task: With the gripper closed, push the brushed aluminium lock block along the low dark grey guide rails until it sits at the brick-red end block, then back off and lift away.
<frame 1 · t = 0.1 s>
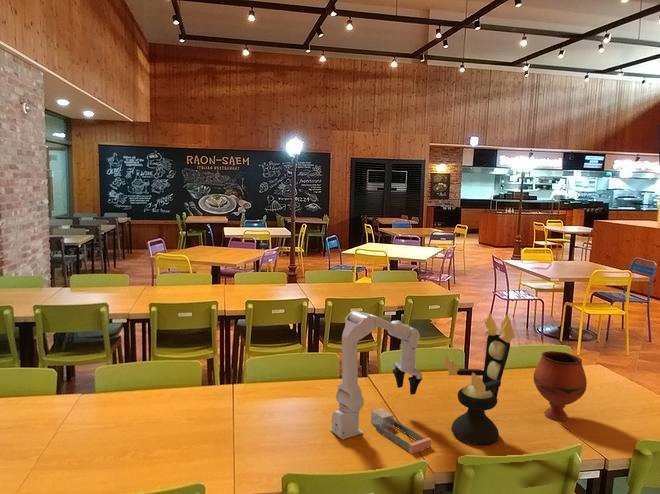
hand: (406, 390, 201), 10 cm above the table, tool pointing down, fingers open, 7 cm apart
goblet: (556, 416, 205), on the table
spiked throne chair: (478, 434, 189), on the table
guide rails: (401, 437, 184), on the table
lock block: (381, 425, 193), on the table
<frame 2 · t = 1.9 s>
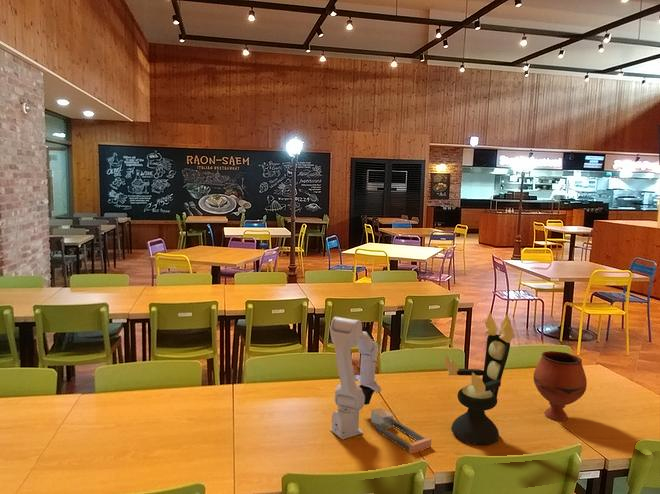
hand: (366, 403, 201), 4 cm above the table, tool pointing down, fingers closed
nothing on the table moved.
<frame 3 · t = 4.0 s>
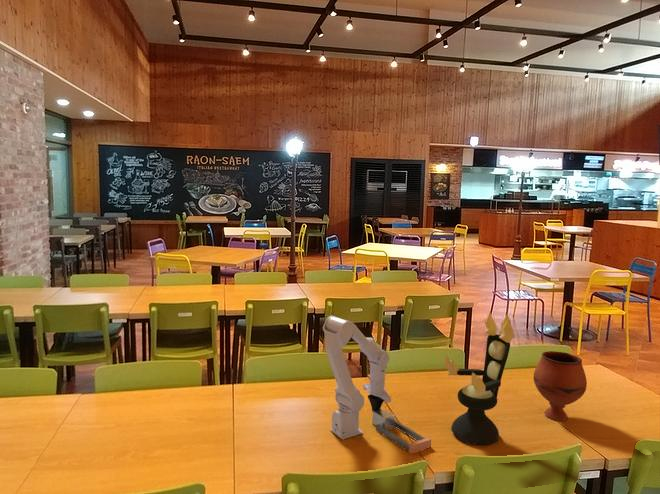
hand: (375, 413, 196), 3 cm above the table, tool pointing down, fingers closed
lock block: (383, 425, 192), on the table, touching gripper
everything else where it was.
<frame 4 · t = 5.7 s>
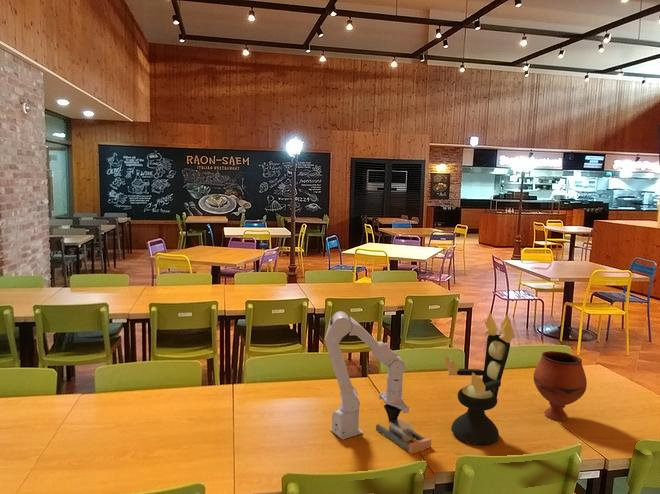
hand: (392, 424, 187), 3 cm above the table, tool pointing down, fingers closed
lock block: (400, 437, 184), resting in guide rails, touching gripper
everything else where it was.
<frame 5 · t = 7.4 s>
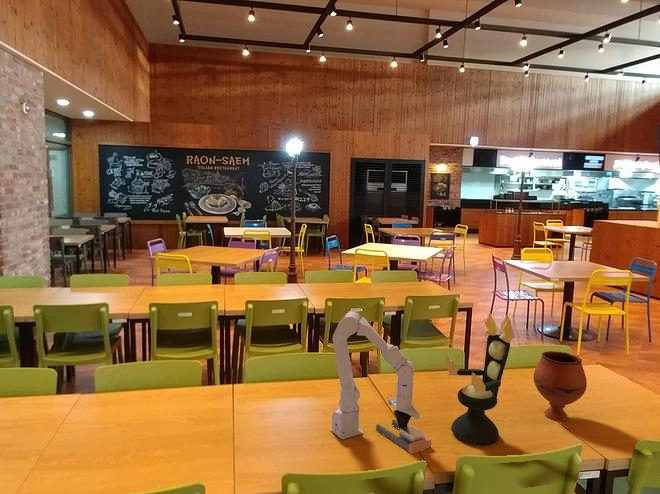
hand: (402, 430, 183), 3 cm above the table, tool pointing down, fingers closed
lock block: (411, 443, 179), resting in guide rails, touching gripper
everything else where it was.
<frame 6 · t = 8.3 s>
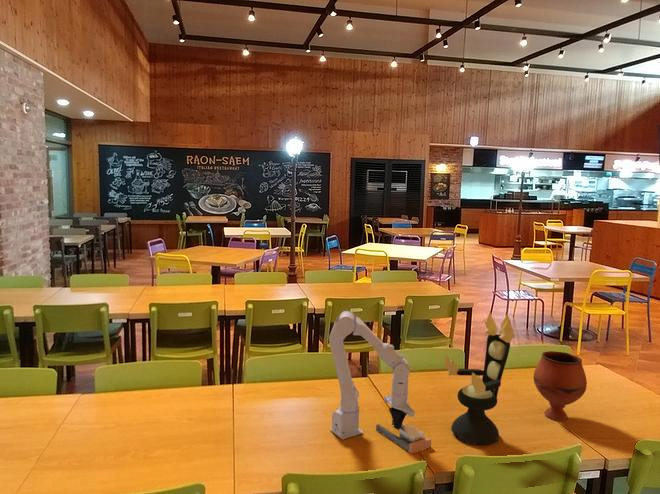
hand: (397, 427, 185), 3 cm above the table, tool pointing down, fingers closed
lock block: (411, 444, 179), resting in guide rails
everything else where it was.
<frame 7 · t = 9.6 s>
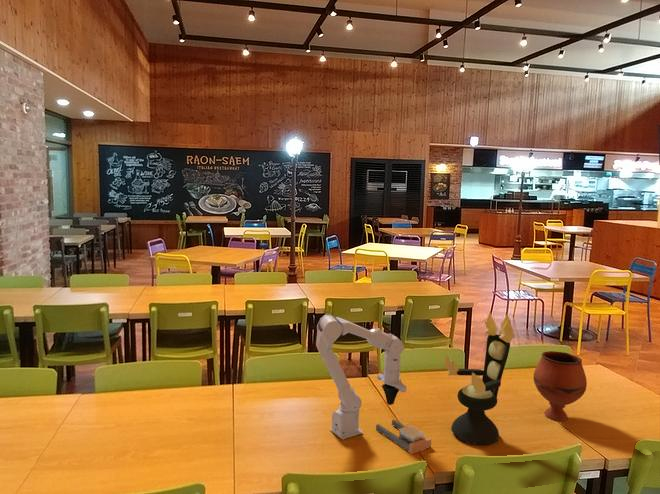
hand: (390, 403, 189), 9 cm above the table, tool pointing down, fingers closed
nothing on the table moved.
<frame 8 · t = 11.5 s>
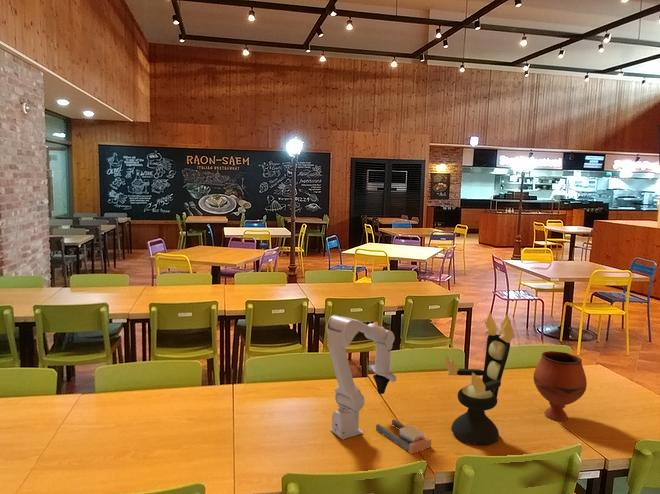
hand: (381, 393, 199), 9 cm above the table, tool pointing down, fingers closed
nothing on the table moved.
at the end: lock block 0.8 cm from the target spot on the guide rails, point 0.0 cm above the guide rails's base; lock block tilted 0°; lock block moved 16.2 cm from its start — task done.
